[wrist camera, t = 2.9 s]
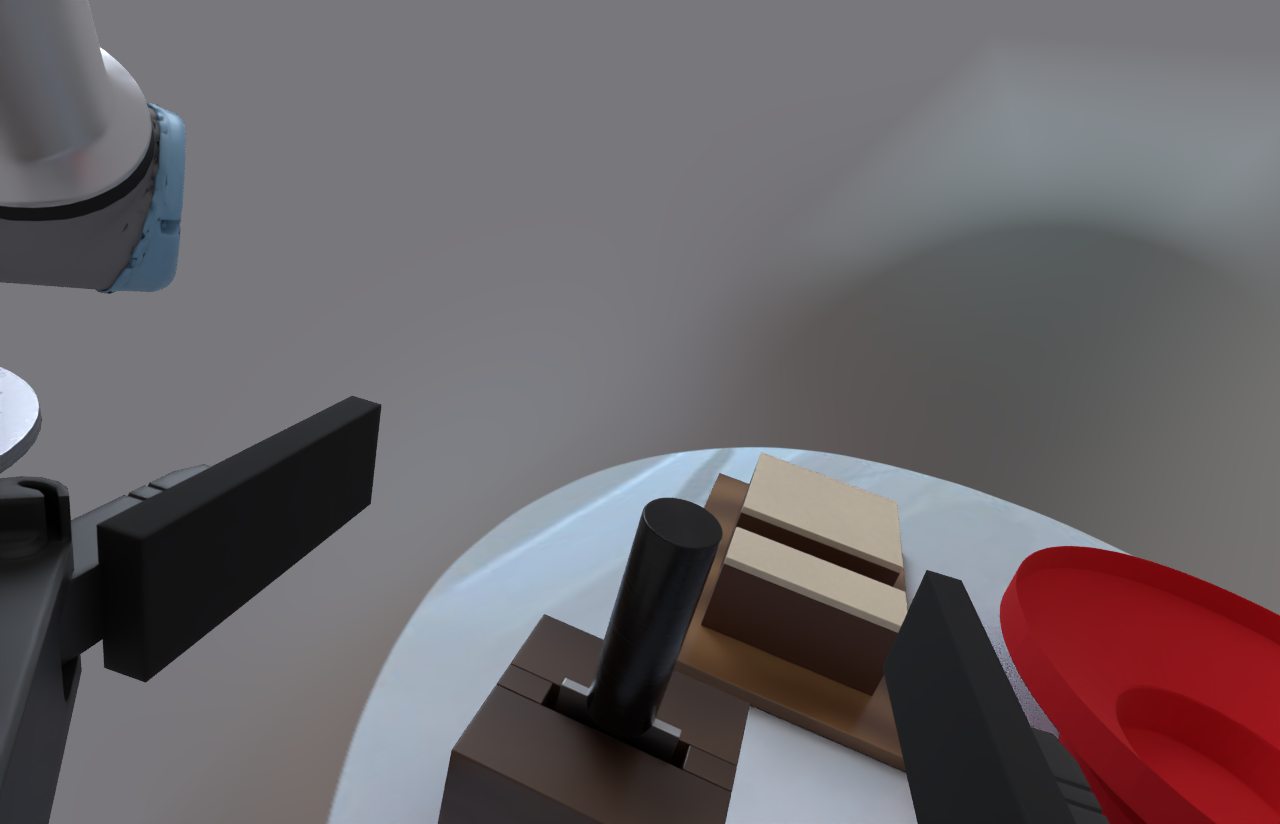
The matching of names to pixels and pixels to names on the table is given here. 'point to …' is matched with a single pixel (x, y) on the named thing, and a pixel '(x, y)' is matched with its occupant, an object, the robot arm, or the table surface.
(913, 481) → the table surface
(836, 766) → the table surface
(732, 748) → the knife block
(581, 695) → the knife
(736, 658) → the cake board
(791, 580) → the cake slice
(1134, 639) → the bowl
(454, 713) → the table surface
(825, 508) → the cake
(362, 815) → the table surface
